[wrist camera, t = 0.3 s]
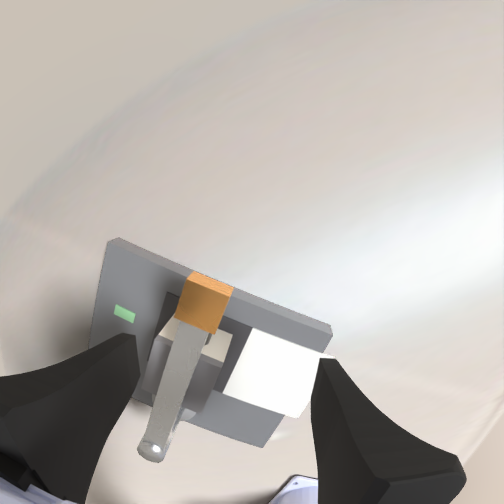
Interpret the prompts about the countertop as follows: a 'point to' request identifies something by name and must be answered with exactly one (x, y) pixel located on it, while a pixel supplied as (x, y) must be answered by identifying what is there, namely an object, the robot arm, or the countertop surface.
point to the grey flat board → (239, 352)
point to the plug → (203, 372)
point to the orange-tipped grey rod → (183, 359)
